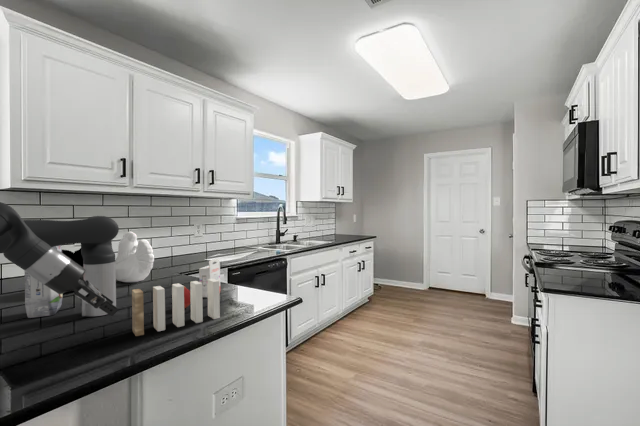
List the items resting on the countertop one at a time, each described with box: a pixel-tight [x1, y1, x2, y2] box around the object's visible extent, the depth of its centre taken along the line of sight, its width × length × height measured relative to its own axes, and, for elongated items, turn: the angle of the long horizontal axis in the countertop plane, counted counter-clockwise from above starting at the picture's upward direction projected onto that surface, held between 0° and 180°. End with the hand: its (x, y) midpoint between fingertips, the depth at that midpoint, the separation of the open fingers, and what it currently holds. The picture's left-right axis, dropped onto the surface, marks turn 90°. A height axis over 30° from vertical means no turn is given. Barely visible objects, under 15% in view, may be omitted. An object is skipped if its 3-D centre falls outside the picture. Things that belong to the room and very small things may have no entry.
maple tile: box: [131, 288, 145, 337], centre depth 95 cm, size 2×5×12 cm, turn 38°
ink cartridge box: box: [198, 258, 221, 298], centre depth 138 cm, size 9×5×15 cm, turn 168°
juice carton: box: [24, 245, 64, 319], centre depth 114 cm, size 9×10×27 cm
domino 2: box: [171, 282, 185, 328], centre depth 102 cm, size 2×5×12 cm, turn 39°
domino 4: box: [207, 279, 221, 320], centre depth 109 cm, size 2×5×12 cm, turn 39°
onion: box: [183, 285, 191, 310], centre depth 119 cm, size 6×6×8 cm
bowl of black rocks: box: [62, 247, 84, 293], centre depth 146 cm, size 20×20×19 cm
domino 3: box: [189, 280, 204, 324], centre depth 105 cm, size 2×5×12 cm, turn 39°
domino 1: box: [152, 285, 166, 332], centre depth 99 cm, size 2×5×12 cm, turn 39°
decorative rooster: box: [115, 231, 155, 283], centre depth 164 cm, size 25×16×25 cm, turn 49°
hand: (112, 308), depth 87 cm, fingers open, 8 cm apart
